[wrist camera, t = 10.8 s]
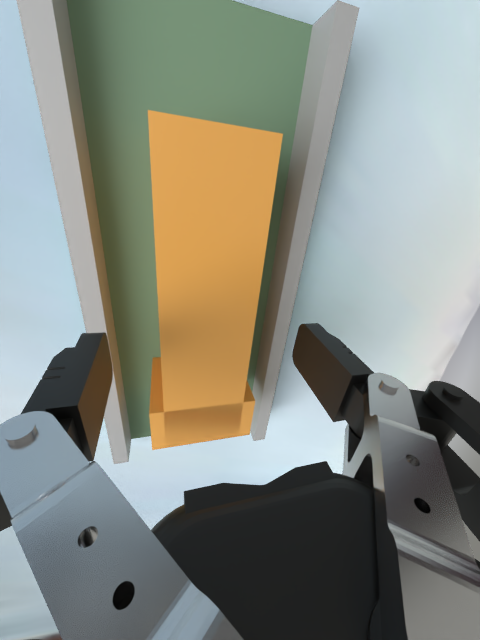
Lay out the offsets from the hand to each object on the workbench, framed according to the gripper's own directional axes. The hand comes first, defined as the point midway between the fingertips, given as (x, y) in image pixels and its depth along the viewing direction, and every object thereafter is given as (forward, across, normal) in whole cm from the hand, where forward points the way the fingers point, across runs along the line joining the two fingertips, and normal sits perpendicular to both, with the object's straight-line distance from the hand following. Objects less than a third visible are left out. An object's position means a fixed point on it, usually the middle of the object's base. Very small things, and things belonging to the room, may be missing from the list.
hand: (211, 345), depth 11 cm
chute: (+6, 0, 0) cm, 6 cm away
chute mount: (+7, 0, 0) cm, 7 cm away
